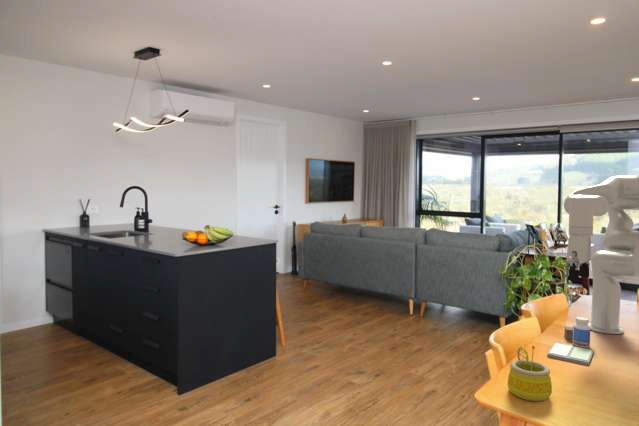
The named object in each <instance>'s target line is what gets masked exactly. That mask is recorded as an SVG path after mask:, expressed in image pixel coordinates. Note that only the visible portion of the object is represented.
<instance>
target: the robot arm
mask: <svg viewBox="0 0 639 426" xmlns="http://www.w3.org/2000/svg"><path fill="white" fill-rule="evenodd" d="M563 208H564V211H565V213H566V214H568V233H567V234H568V241H567V251H566V262H567V263H568V264H567V265H568V280H569V281H570V282H579V281H580V278H581V277H582V278H583V277H584V278H589V277H590V265H591V271H592V291H591V292H592V293H591V294H592V297H591V317H590V322H589V323H588V325H589V326H590V328H591V329H590V331H593V332H597V333H602V334H606V335H607V334H608V335H621V334H623V333H624V328H623V327H621V326H620V317H621V316H620V311H621V295H622V294H621V293H622V287H621V285H620V282H619V280H618V279H617V278H616V277H621V278H625V279H638V278H639V230H633V229H634V223H635V222H634V220H633V219H632V217H631V216H630V215H629V214H628V213H626V210H627V211H628V210H629V211H630V210H631V211H639V175H613V176H610V177H607V178H606V179H605V180H604V181H602V182H600V183H599V184H597V185H593V186H588V187H584V188H580V189H576V190H574V191H573V192H571V193H569V194H568V195H567V197H566V198H565V199H564V202H563ZM606 214H608V218H609V220H608V224H607V227H606V230H605V232H604V235H603V239H602V247H603V249H604V250H598V251H595V252H593V253H592V242H591V241H592V237H593V236H594V217H603V216H605V215H606ZM591 254H592V255H591Z"/></svg>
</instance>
